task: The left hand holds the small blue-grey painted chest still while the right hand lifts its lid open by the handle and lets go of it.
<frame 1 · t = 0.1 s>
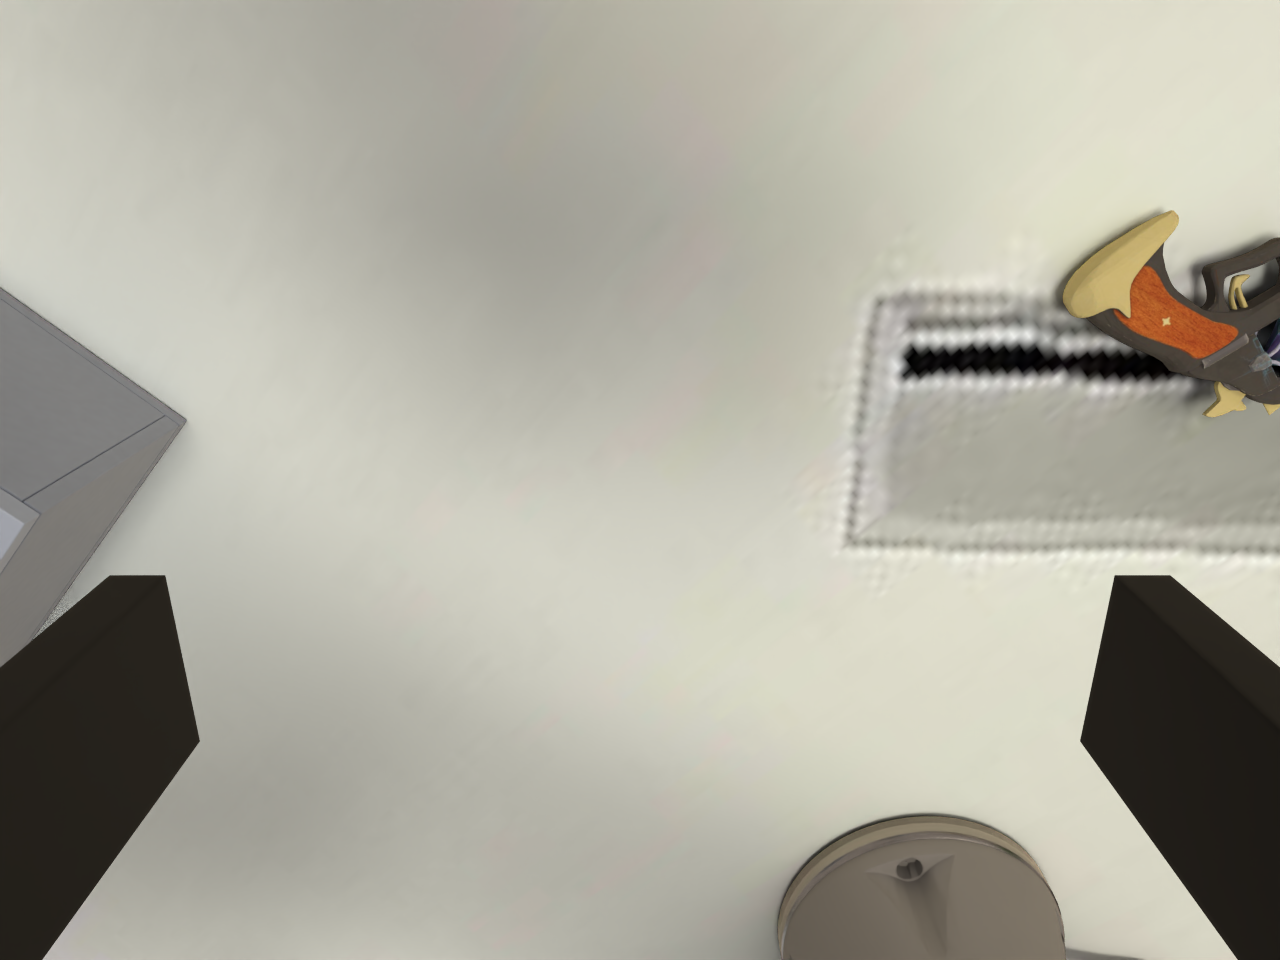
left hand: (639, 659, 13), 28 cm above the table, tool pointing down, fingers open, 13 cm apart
chest: (7, 473, 42), on the table
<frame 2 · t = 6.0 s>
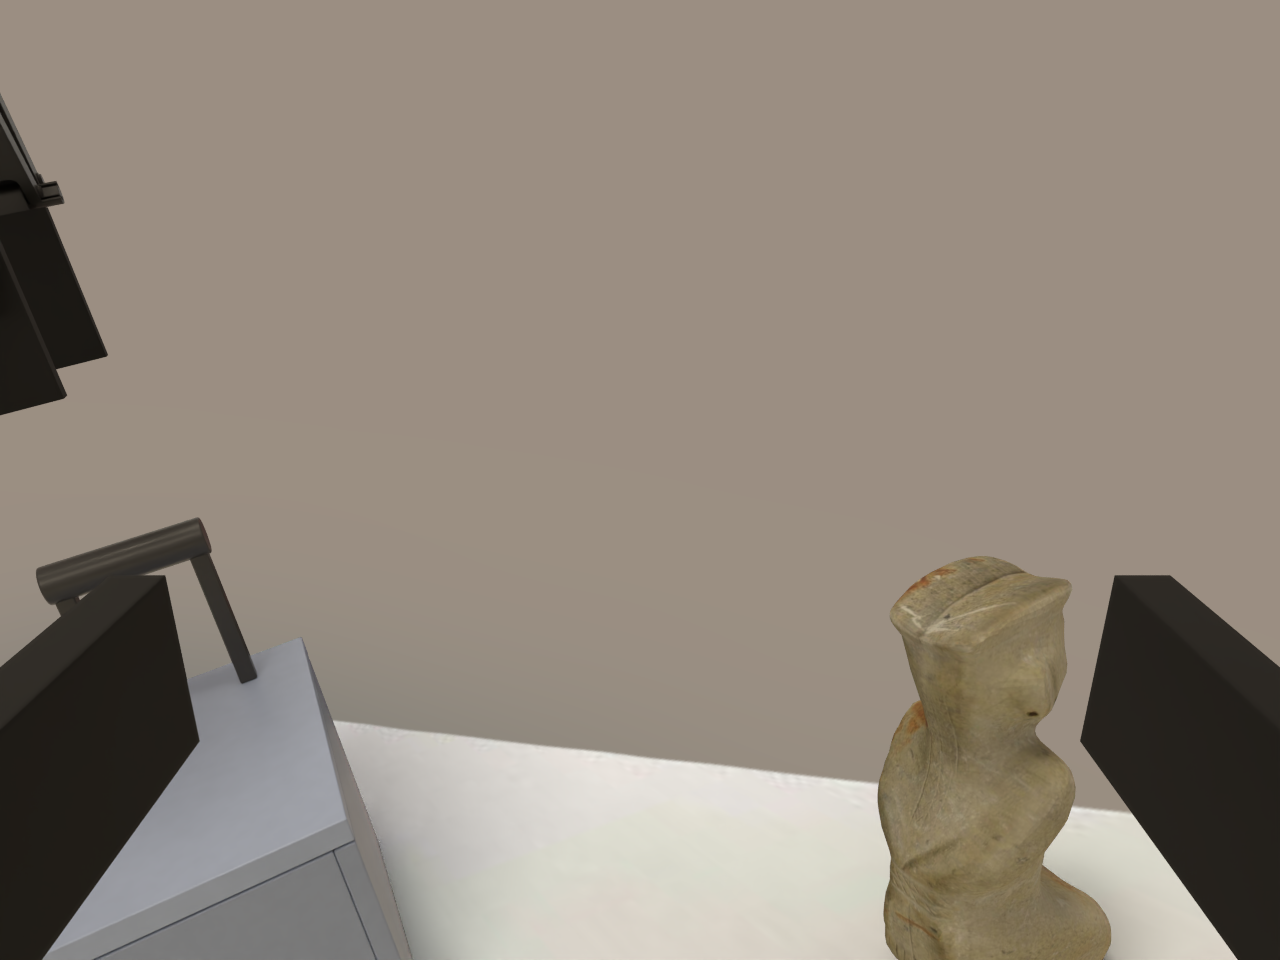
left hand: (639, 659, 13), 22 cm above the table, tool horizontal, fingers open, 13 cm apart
lid: (152, 687, 33), point 15 cm above the table, hinge at 0.0°
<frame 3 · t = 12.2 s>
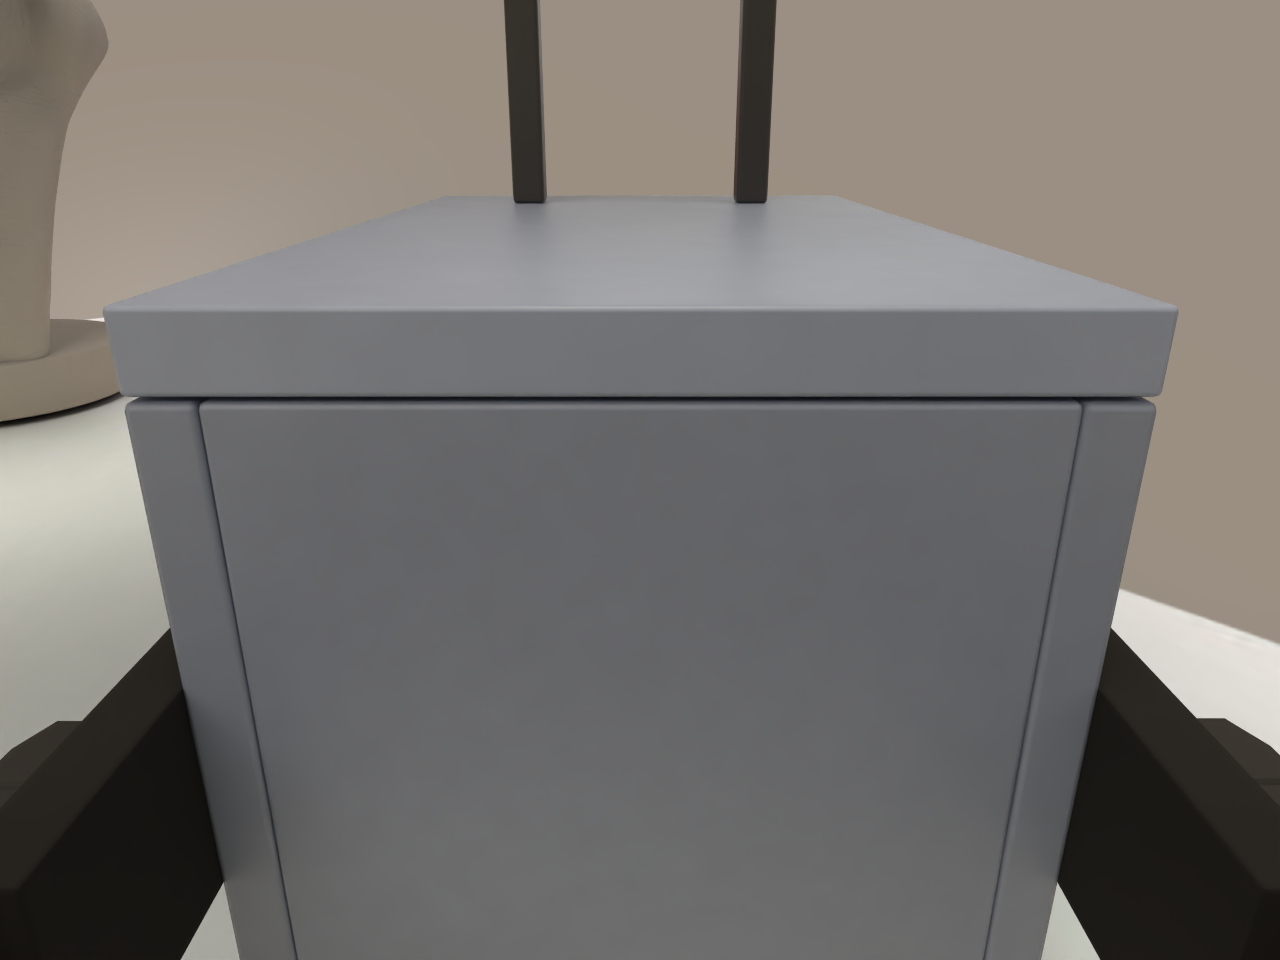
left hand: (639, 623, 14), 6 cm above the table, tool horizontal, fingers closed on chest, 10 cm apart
chest: (640, 781, 20), on the table, touching left hand
lid: (640, 10, 15), point 15 cm above the table, hinge at 0.0°
bust sculpture: (21, 411, 45), on the table
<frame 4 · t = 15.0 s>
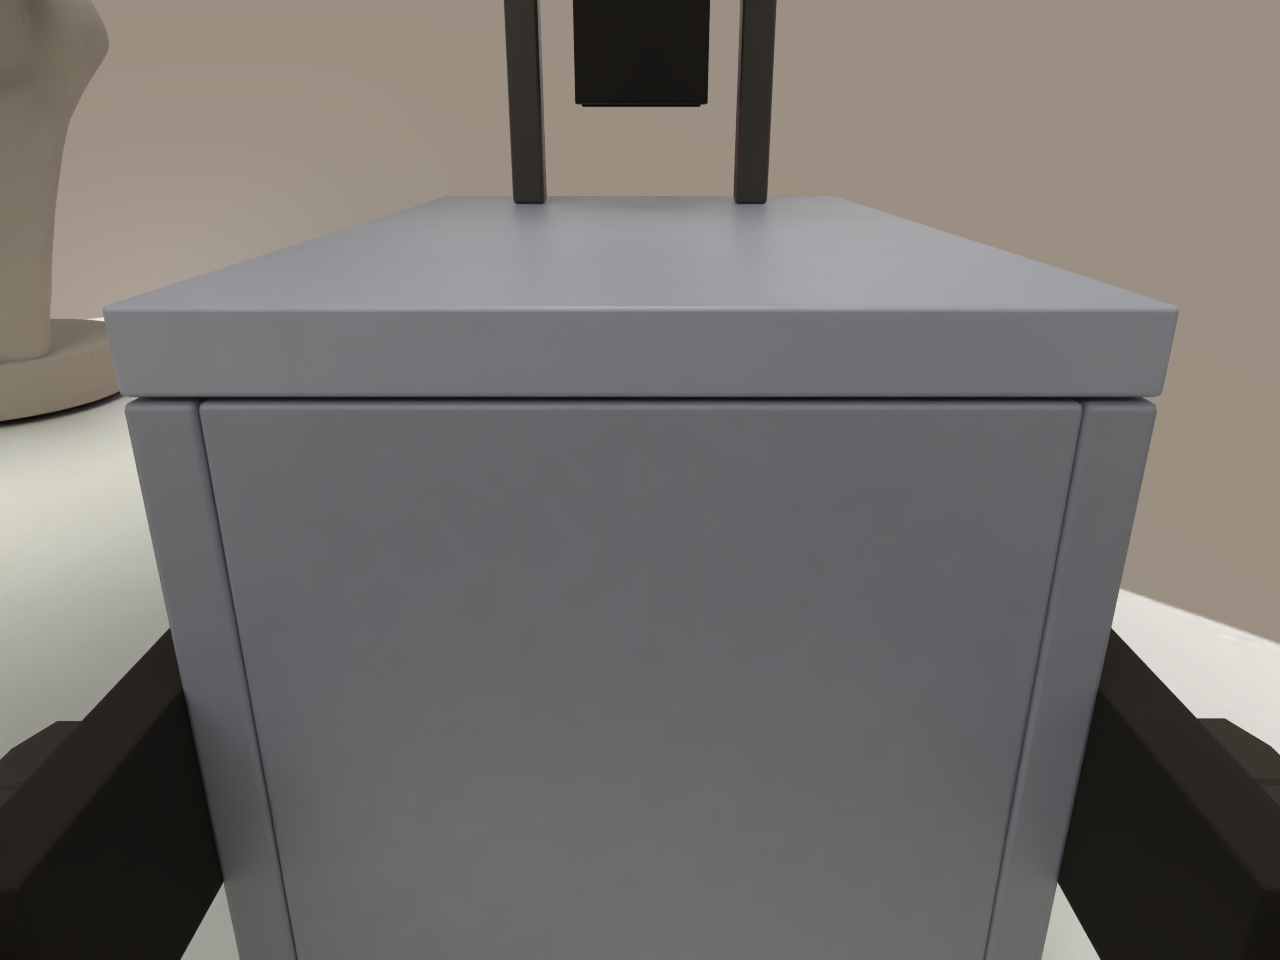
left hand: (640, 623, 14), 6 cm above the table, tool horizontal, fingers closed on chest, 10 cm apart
chest: (640, 781, 20), on the table, touching left hand
lid: (640, 10, 15), point 15 cm above the table, hinge at -0.1°, touching right hand
bust sculpture: (21, 411, 45), on the table
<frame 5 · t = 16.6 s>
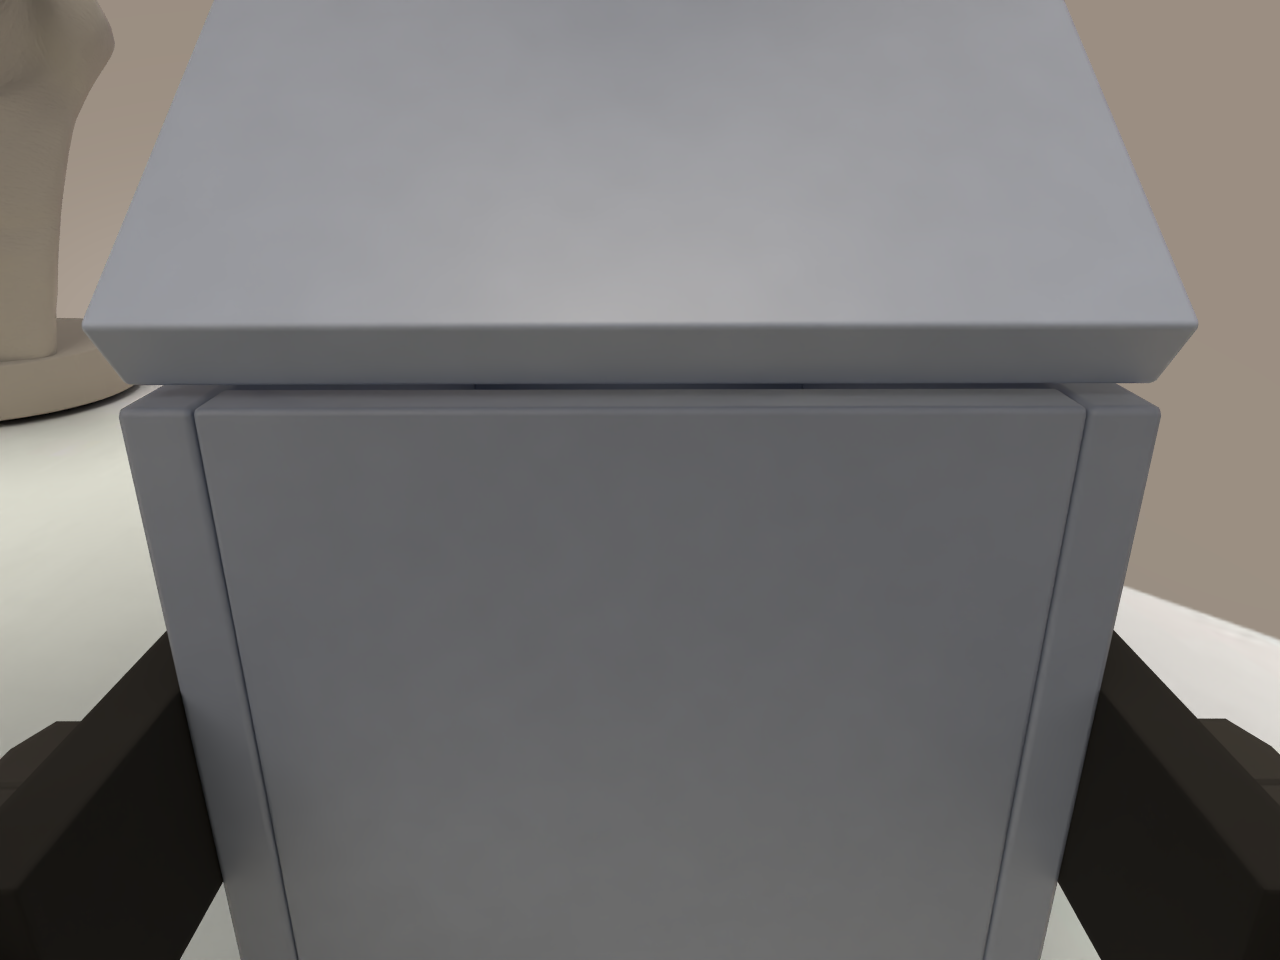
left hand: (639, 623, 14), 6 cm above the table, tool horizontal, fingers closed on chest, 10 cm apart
chest: (639, 774, 20), on the table, touching left hand
bust sculpture: (27, 410, 45), on the table
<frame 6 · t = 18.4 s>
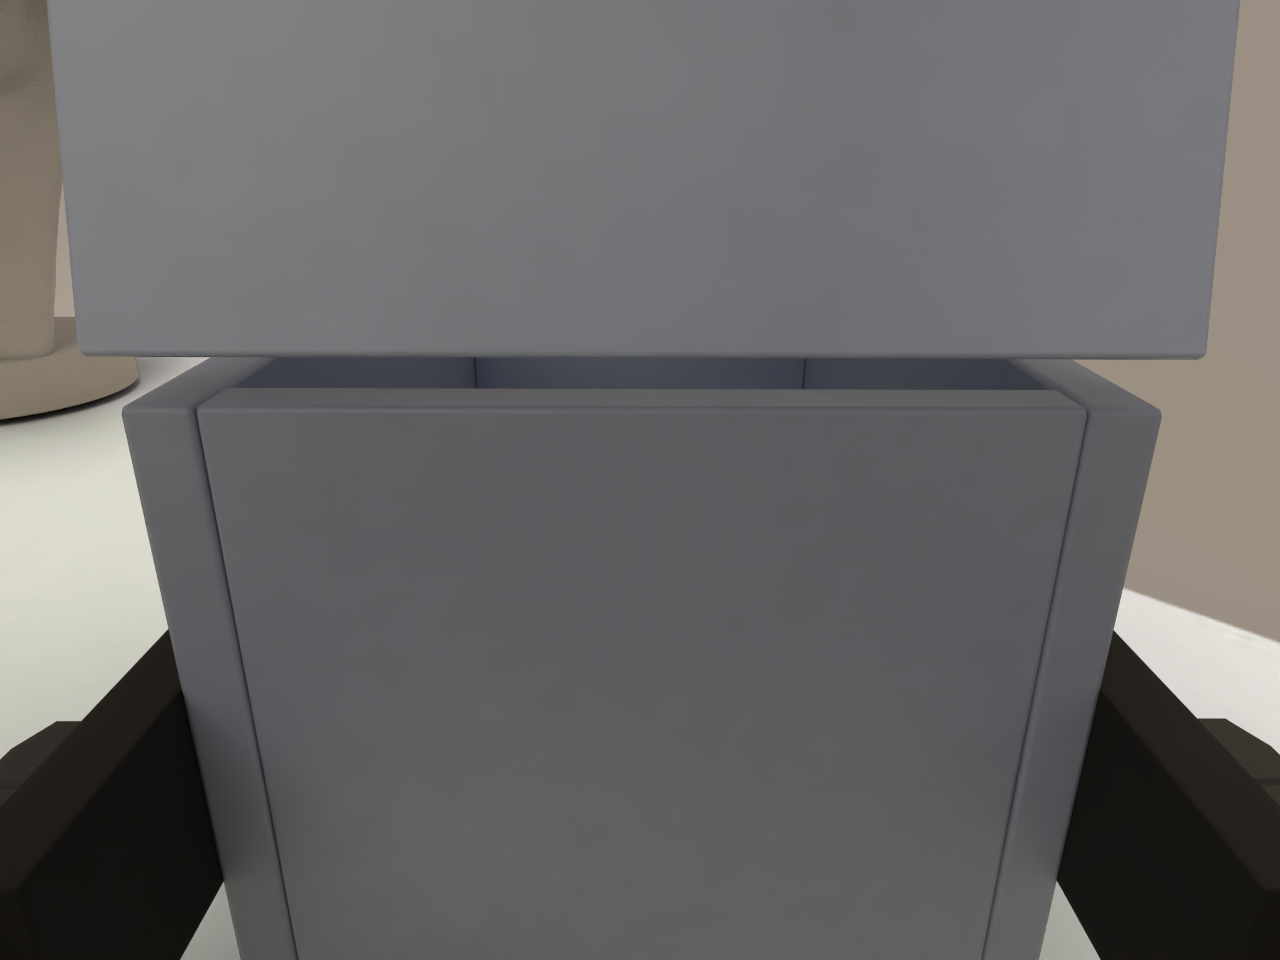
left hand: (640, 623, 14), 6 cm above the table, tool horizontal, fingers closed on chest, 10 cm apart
chest: (639, 774, 20), on the table, touching left hand
bust sculpture: (25, 409, 45), on the table
when the left hand's fingers open (6 cm above the table, at t = 22.8 s): chest stays where it is, on the table.
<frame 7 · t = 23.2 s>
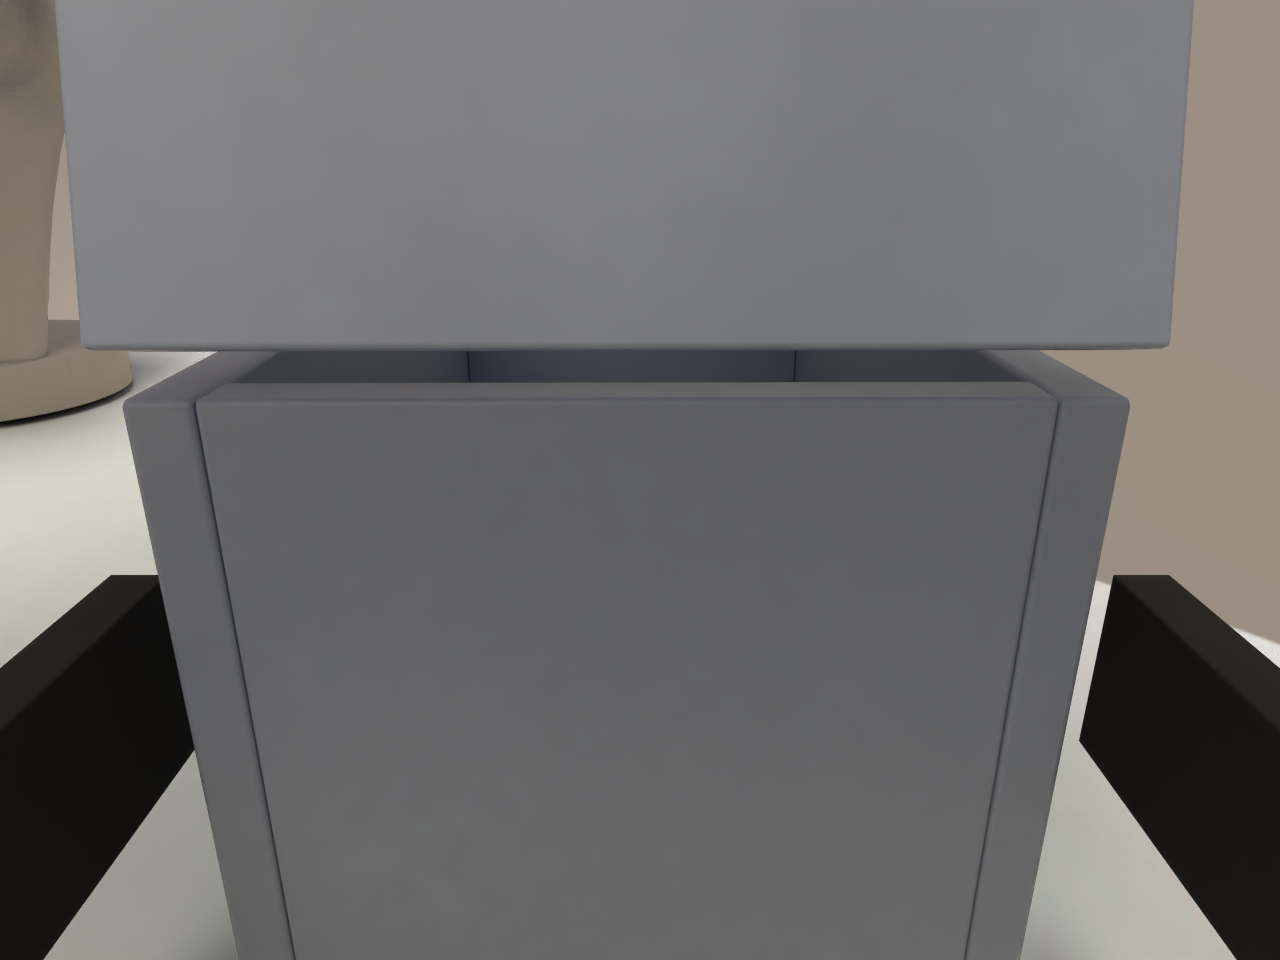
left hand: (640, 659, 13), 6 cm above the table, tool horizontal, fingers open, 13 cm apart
chest: (632, 774, 20), on the table
bust sculpture: (19, 412, 45), on the table
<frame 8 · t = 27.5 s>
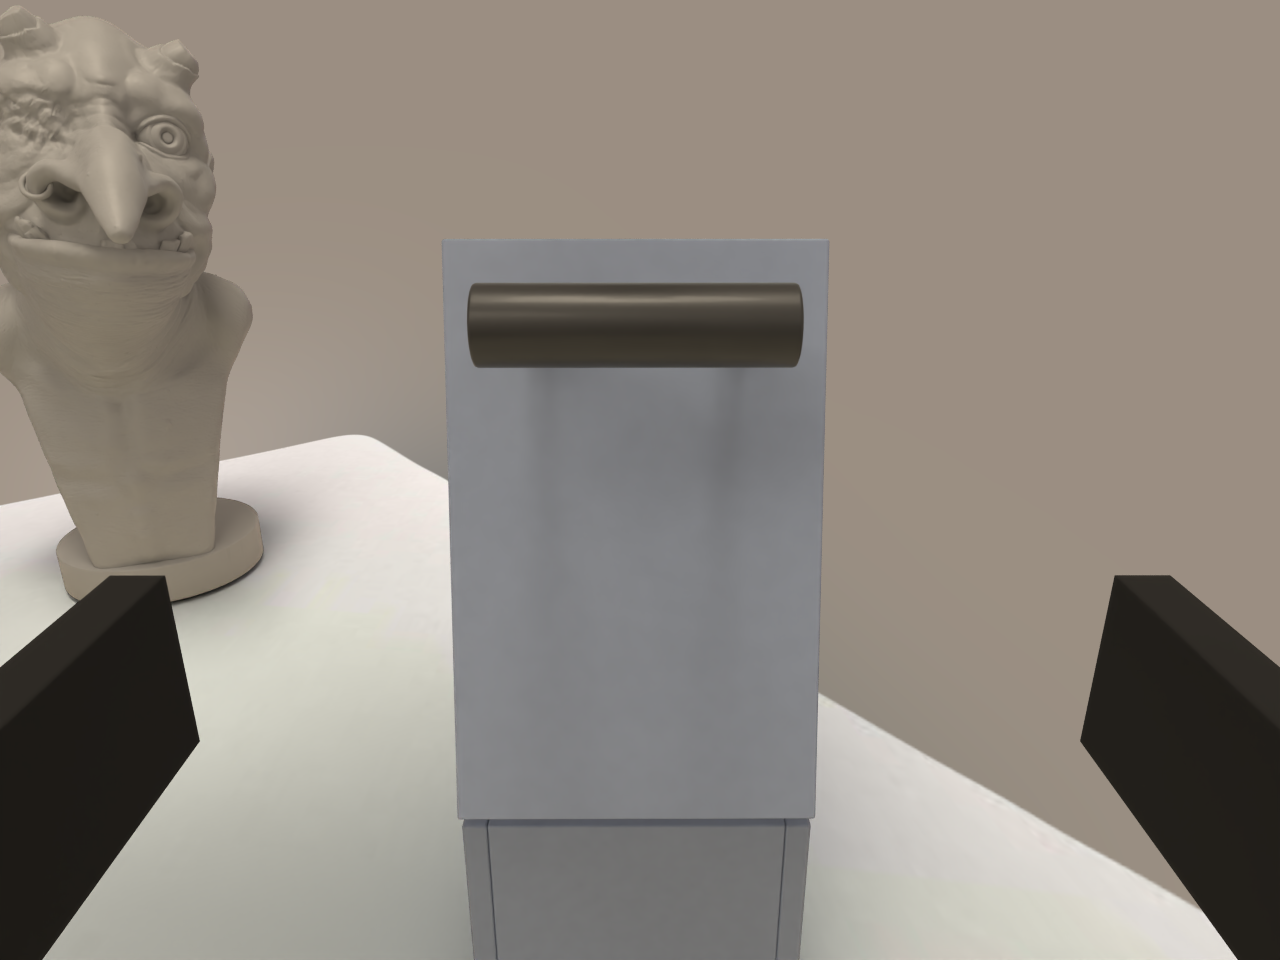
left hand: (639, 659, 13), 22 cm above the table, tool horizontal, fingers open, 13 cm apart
chest: (636, 900, 37), on the table
lid: (636, 568, 21), point 20 cm above the table, hinge at 76.2°
bust sculpture: (190, 584, 62), on the table
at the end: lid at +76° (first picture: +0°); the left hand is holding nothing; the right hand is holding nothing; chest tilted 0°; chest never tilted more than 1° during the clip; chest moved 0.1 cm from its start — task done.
